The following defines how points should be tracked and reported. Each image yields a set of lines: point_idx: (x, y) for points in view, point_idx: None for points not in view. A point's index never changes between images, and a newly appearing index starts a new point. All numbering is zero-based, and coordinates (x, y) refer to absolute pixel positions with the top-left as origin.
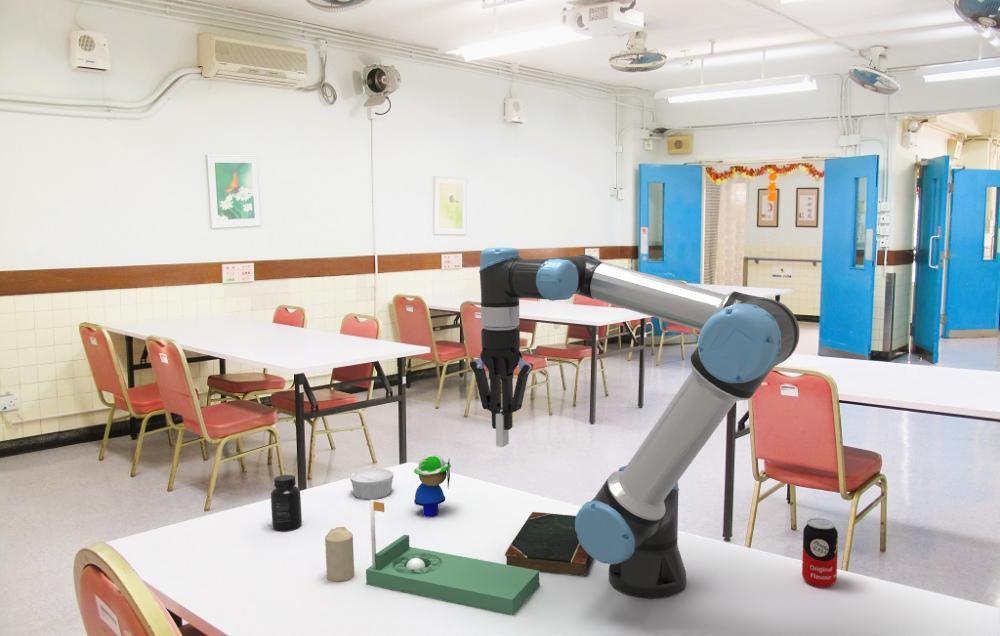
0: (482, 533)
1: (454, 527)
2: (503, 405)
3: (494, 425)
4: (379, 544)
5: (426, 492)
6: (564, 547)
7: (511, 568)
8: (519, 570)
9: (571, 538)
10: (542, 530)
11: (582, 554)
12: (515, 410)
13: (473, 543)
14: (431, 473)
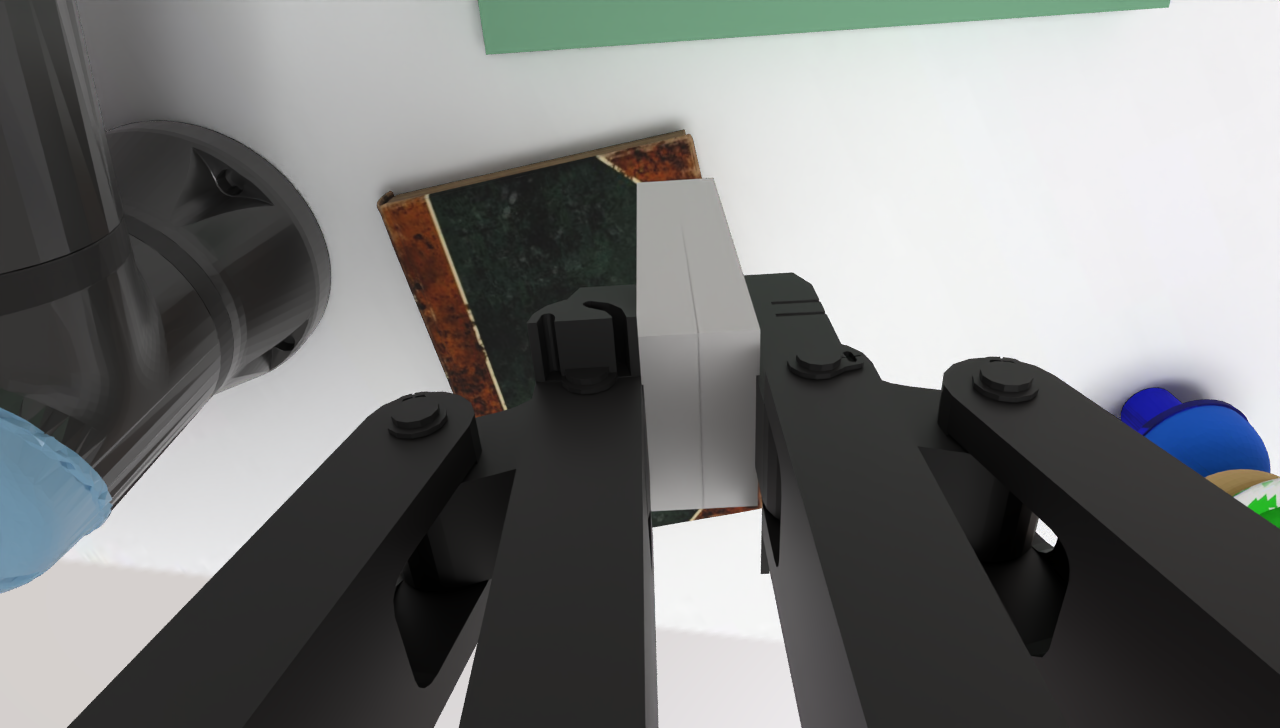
0: (892, 349)
1: (1015, 351)
2: (620, 439)
3: (776, 290)
4: (1275, 86)
5: (1215, 442)
6: (511, 294)
7: (598, 19)
8: (558, 16)
9: (528, 371)
10: None
11: (423, 268)
12: (389, 410)
13: (891, 262)
14: (1248, 492)
